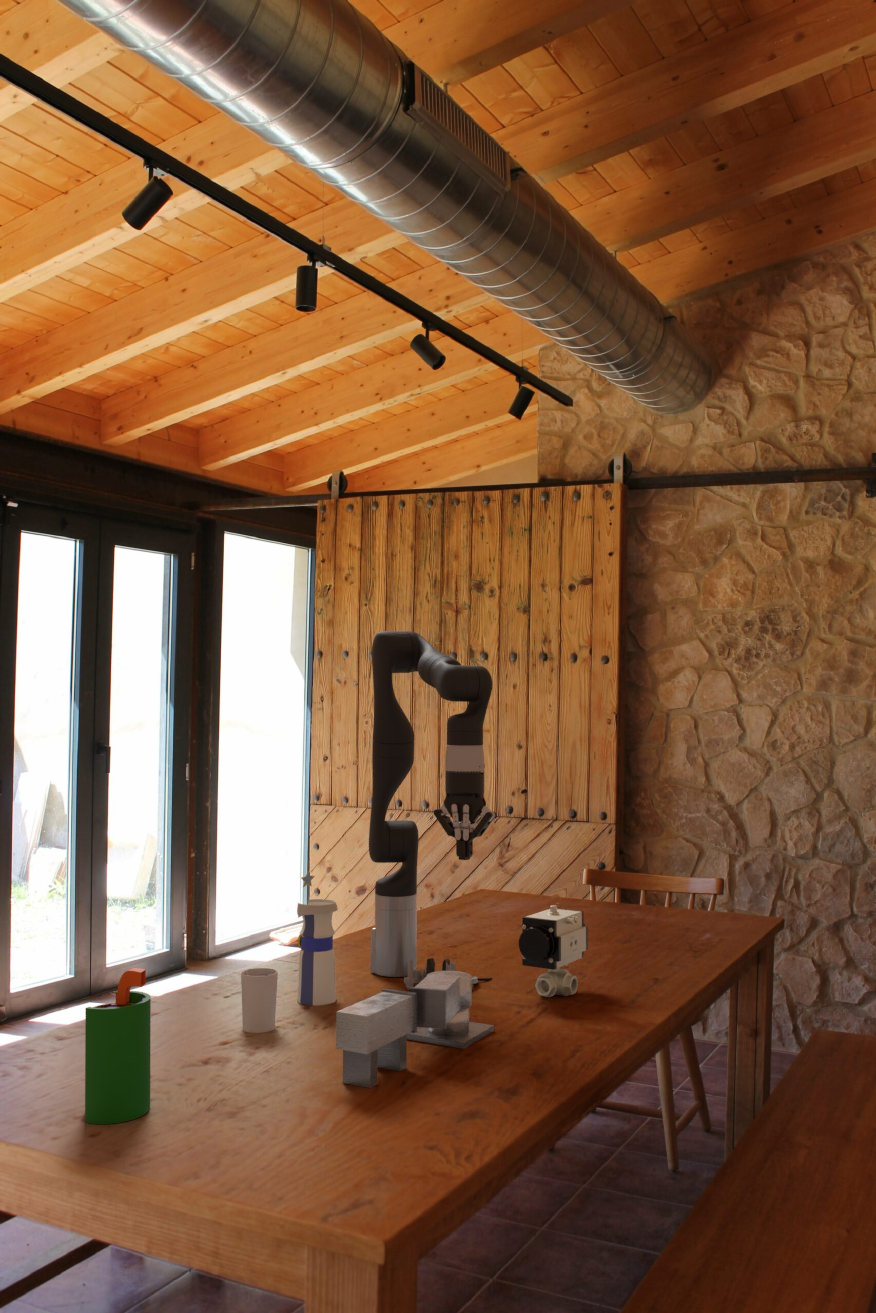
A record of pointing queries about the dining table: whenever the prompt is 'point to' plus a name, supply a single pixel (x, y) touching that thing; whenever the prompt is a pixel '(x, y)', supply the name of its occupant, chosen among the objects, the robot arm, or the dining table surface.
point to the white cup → (259, 999)
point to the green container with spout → (118, 1054)
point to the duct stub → (453, 1032)
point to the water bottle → (316, 951)
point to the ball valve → (554, 947)
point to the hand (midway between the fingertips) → (464, 859)
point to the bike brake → (419, 975)
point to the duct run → (375, 1035)
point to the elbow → (441, 997)
